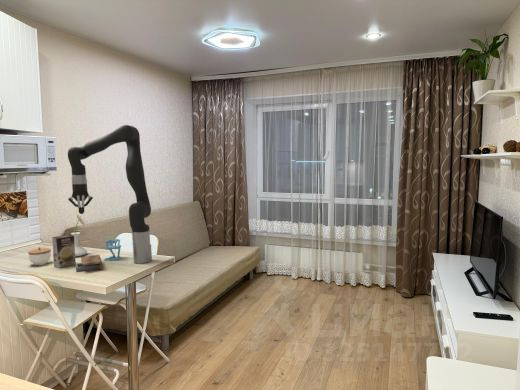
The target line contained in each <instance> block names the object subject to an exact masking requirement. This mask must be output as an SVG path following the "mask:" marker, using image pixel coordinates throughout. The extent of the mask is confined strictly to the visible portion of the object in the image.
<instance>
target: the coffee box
mask: <svg viewBox="0 0 520 390" xmlns="http://www.w3.org/2000/svg"><path fill="white" fill-rule="evenodd" d="M51 239H52V253H53V254H52V255H53V256H52V257H53V258H52V259H53V267H56V268H57V269H61V268H65V267H70V266H76V264H77V263H76V262H77V261H76V256H75V243H74V236H73V235H72V234H66V235H57V236H53V237H52V238H51Z"/></svg>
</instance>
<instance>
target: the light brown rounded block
mask: <svg viewBox="0 0 520 390" xmlns="http://www.w3.org/2000/svg"><path fill="white" fill-rule="evenodd" d="M80 259H81V263H82V265H83V266H85V265H92V264H97V266H98V269H97V270H99V271H103V261H102V258H101V255H100V254H95V255H94V254H93V255H87V256H86V255H85V256H80Z"/></svg>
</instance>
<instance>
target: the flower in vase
mask: <svg viewBox="0 0 520 390" xmlns="http://www.w3.org/2000/svg"><path fill="white" fill-rule="evenodd" d="M76 217H77V219H78V220H77V222H76V224H75V227H74V229H73V230H72V231H74V232H71V233H70V235H73V236H74V243H75V257H82V256H84V255H86V254H88V250H87V249H86V248H85V247H83V246H81V244H79V236H80V234H81V231H80V232H77V230H78V231H79V230H80V227H79V226H78V223H80V224H82V225H83V226H85V224H86V223H85V222H84V220H83V219H82V217H81V216H80V215H79V214H78V213H76Z"/></svg>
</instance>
